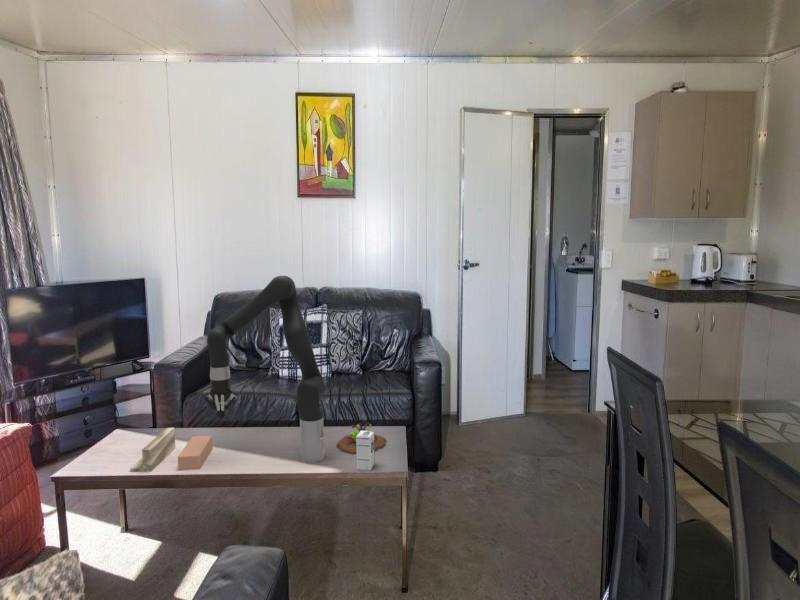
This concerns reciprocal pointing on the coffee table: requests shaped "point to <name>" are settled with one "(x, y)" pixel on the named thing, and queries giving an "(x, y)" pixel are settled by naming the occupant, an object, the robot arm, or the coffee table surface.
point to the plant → (349, 442)
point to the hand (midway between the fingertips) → (221, 418)
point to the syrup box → (365, 450)
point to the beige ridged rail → (156, 451)
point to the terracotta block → (195, 453)
